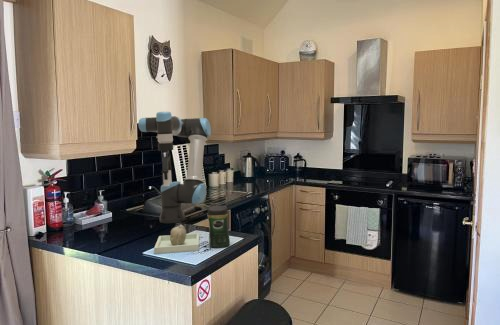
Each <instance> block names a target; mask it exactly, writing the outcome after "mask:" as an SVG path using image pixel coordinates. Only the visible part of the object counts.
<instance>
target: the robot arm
mask: <svg viewBox="0 0 500 325" xmlns="http://www.w3.org/2000/svg"><path fill="white" fill-rule="evenodd" d="M171 112H172V111H171ZM171 112H170V111H158V112H156V116H155V117H152V116H151V117H145V116H144V117H141V118H140V119H138V129H139V131H140V132H142V133H143V132H144V133H149V132H150V133H151V132H152V133H156V134H157V135H156V139H157V142H158V143H157V149H158V152H162V153H161V161H162V163H161V165H162V170H161V172H160V173H161V174H162V180H163V183H162V185H161V186H160V201H161V202H160V203H161V210H160V211H161V212H160V215H159V218H158V219H159V223H160V224H177V223H182V222H184V221H185V220H186V215H185V213H184V210H183V207H182V204H184V205H185V204H188V205H189V204H191V205H192V204H193V205H196V204H201V203H203V201H205V199H206V195H207V186H206V184H205V183H204V181H203V180H202V173H203V163H204V162H203V161H204V153H205V152H204V151H205V150H204V149H205V142H207V141H208V138H209V137H211V136H212V128H211V124H210V120H208V119H207V118H206V117H197V118H195V117H194V118H182V119H181V118H180V117H179V116H175V115H174V116H173V115H172V113H171ZM174 136H176V137H180V138H188V141H189V143H190V144H189V152H188V154H189V155H188V160H187V161H188V162H187V172H186V173H187V174H186V178H184V180H183V183H181V181H173V180H172V179H173V178H172V170H173V168H172V164H171V163H172V162H171V153H170V151H173V150H174V143H173V141H174V138H173V137H174Z"/></svg>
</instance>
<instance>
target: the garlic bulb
mask: <svg viewBox="0 0 500 325" xmlns="http://www.w3.org/2000/svg"><path fill="white" fill-rule="evenodd" d="M186 234H187V229H186V227H185V226H184V225H182V224H179V226H175V227H173V228H171V230H170V241H171V244H172V245H173V246H176V245H182V244H183V243H184V241H185V238H186Z"/></svg>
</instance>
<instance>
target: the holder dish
mask: <svg viewBox="0 0 500 325" xmlns="http://www.w3.org/2000/svg"><path fill="white" fill-rule="evenodd" d="M170 235H171V234H170ZM170 235H169V234H168V235H159V236H158V238H157V241H156V243H155V245H154V247H153V249H154V250H153V251H154V255H159V254H160V255H161V254H174V253H186V252H198V251H200V232H198V233H196V232H195V233H186V238H185V241H184V243H183V244H182V245H176V246H173V245H172V244H171V241H170Z"/></svg>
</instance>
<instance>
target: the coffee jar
mask: <svg viewBox="0 0 500 325" xmlns="http://www.w3.org/2000/svg"><path fill="white" fill-rule="evenodd" d="M206 216H207V219H208V223H209V224H208V225H209V227H208V229H209V230H208V233H209V234H208V245H209V247H211V248H224V247H228V246H230V245H231V244H230V243H231V242H230V234H229V227H228V217H229V210H228V207H227V205H213V206H212V205H211V206H210V205H209V206H208V207H207V214H206Z"/></svg>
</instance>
